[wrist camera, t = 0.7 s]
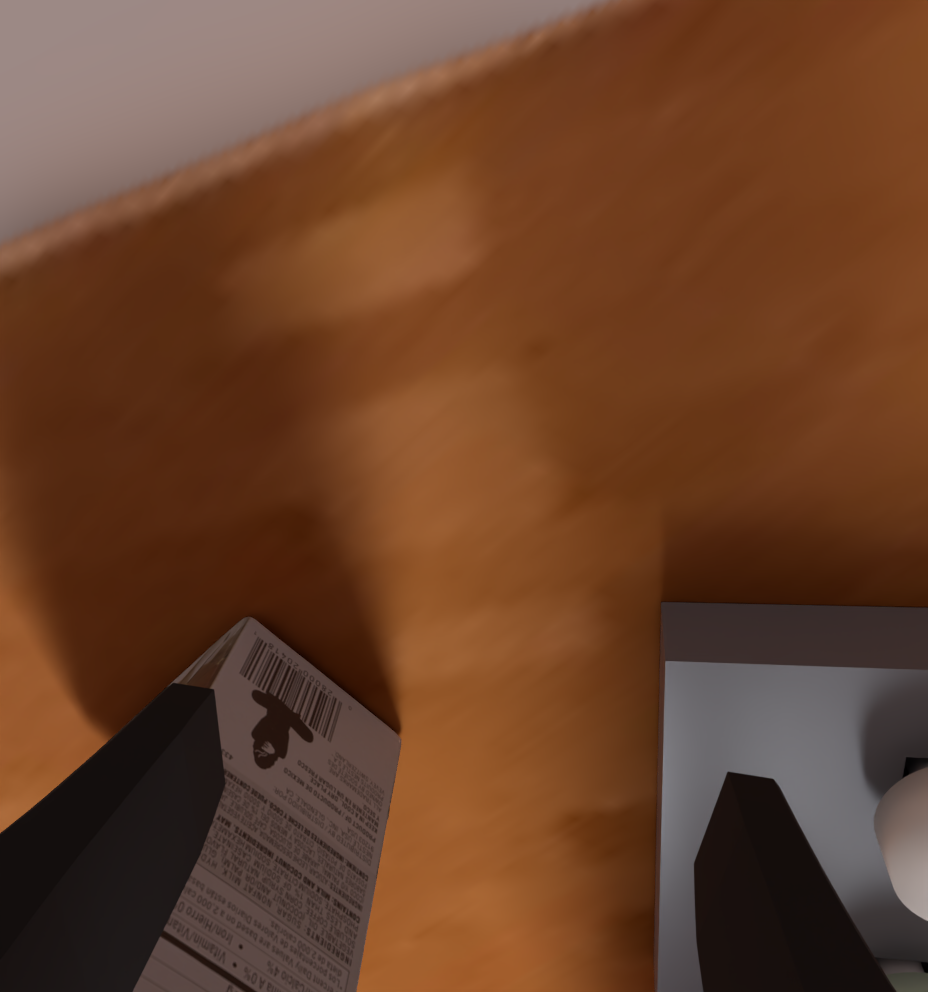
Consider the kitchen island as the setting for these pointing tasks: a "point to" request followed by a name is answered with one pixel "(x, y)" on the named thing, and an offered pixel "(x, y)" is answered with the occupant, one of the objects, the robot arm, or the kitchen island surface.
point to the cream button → (906, 835)
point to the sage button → (905, 974)
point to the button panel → (788, 750)
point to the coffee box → (281, 830)
